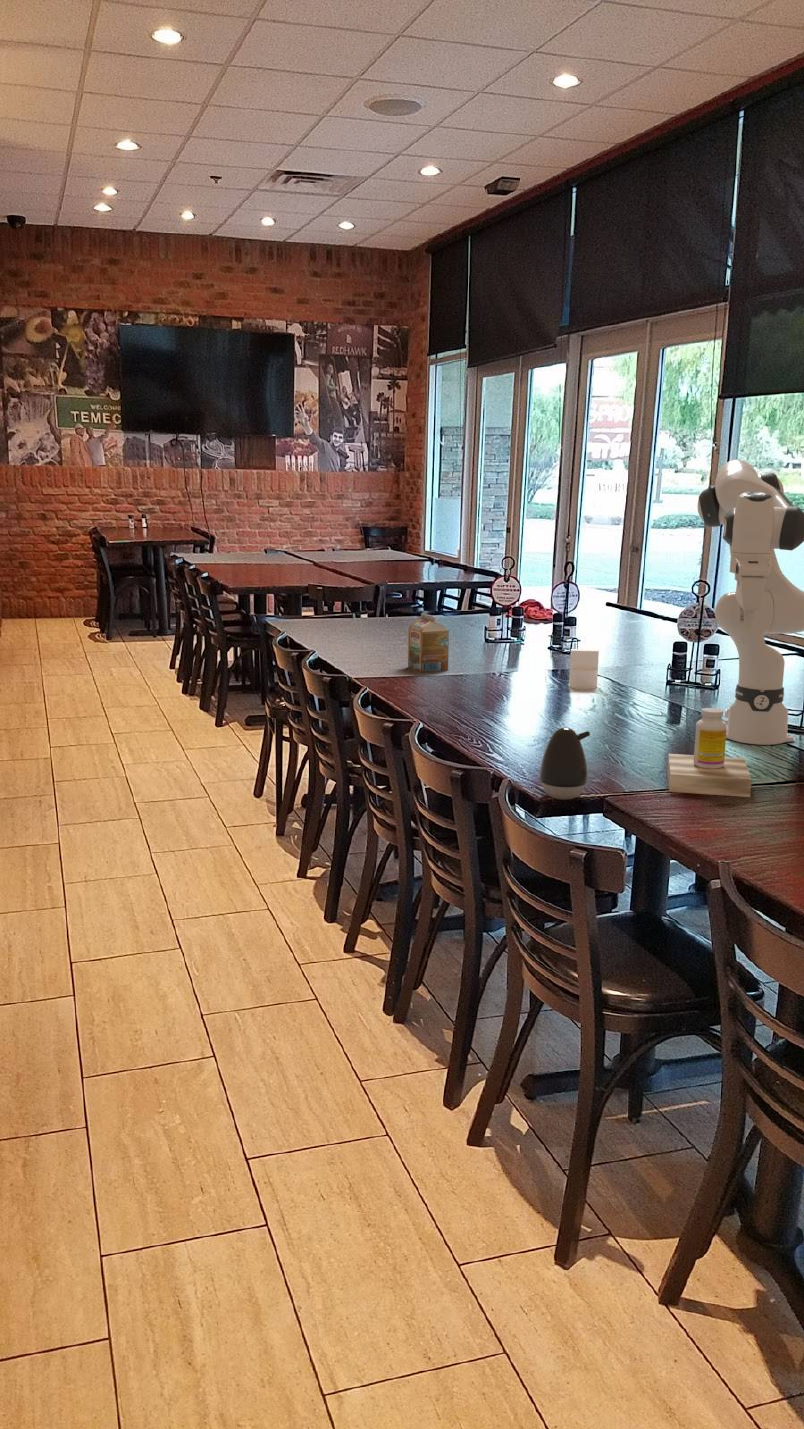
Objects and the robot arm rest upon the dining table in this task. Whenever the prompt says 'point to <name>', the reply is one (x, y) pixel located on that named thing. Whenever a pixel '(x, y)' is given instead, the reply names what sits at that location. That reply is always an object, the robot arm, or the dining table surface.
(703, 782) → the birch plinth
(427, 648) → the milk carton
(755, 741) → the robot arm
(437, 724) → the dining table surface
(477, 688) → the dining table surface
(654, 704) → the dining table surface
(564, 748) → the pump dispenser
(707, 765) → the supplement bottle
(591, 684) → the base with upright slab
